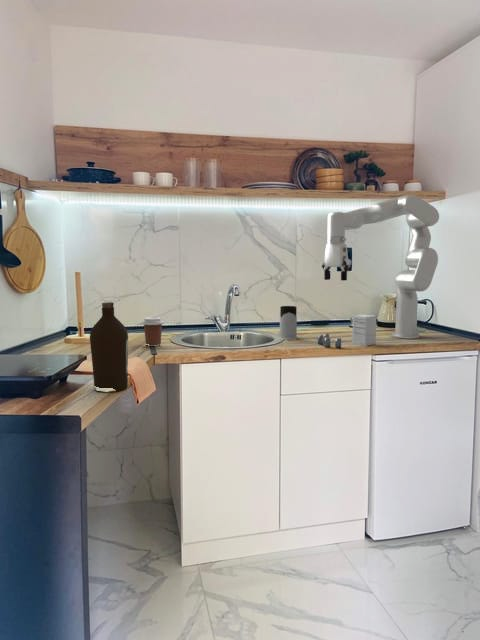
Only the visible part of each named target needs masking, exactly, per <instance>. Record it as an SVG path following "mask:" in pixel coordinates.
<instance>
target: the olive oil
mask: <svg viewBox="0 0 480 640" xmlns="http://www.w3.org/2000/svg"><path fill="white" fill-rule="evenodd" d="M101 306H102V307H101V314H102V315H101V317H100V318H99V319H98V321H97V322H96V323H95V324H94V325H93V326H92V328H91V329H90V330H91V331H90V333H89V344H90V352H91V362H92V373H93V374H92V375H93V387H94V386H96V387H99V388H113V389H115V390H116V392H115V393H117V392H121V391H122V392H123V391H124V390H126V389H127V388H128V387H129V386H128V385H129V377H128V376H129V375H128V373H129V372H128V371H129V367H128V365H129V333H128V329H127V327H126V326H125V325H124V324H123V323H122V322H121V321H120V320H119V319H118V318H117V317H116V316H115V307H114V306H115V305H114V302H112V301H111V302H110V301H109V302H108V301H107V302H102V303H101Z"/></svg>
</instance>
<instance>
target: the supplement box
mask: <svg viewBox="0 0 480 640" xmlns="http://www.w3.org/2000/svg"><path fill="white" fill-rule="evenodd" d="M376 337H377V315H373V314H366V313H365V314H364V313H363V314H355V315H352V340H351V342H352V345H359V346H363V347H365V346H366V347H367V346H372V345H376V344H377V343H376V342H377V338H376Z"/></svg>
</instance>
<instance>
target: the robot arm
mask: <svg viewBox="0 0 480 640" xmlns="http://www.w3.org/2000/svg"><path fill="white" fill-rule="evenodd" d="M401 216H406V217H405V220H406V225H407V226H408V228H409V229H410V232H411V239H410V243H409V246H408V249H407V251H406V255H405V259H404V263H405V265H406V266H407V267H408V268H410V269H406V270H405V269H403V270H402V271H399V272H398V273H397V274H396V276H395V277H394V278H395V279H394V283H395V284H394V285H395V290H396V291H395V292H396V294H395V295H396V303H395V304H396V305H395V306H396V307H395V328H394V329H395V330H394V332H392V333H391V337H393V338H397V339H405V340H406V339H409V340H411V339H412V340H413V339H419V338H420V337H421V336H420V334H421V333H426V331H427V330H426V328H420V327H418V325H417V323H418V305H419V304H418V303H419V298H418V294H417V292H421V293H422V292H425V291H427V290H428V288H429V287H430V286H431V284H432V281H433V278H434V275H435V273H436V272H435V271H436V269H437V266H438V264H439V256H438V253H437V251H436V249H434V248H432V247H430V244H431V241H432V236H431V232H430V229H429V227H432V226H435V225H436V224H437V223H438V222H439V219H440V213H439V211H438V210H437V208H436V207H435V206H433V205H432V204H430V203H429V202H428V201H426V200H425V199H422V198H421V197H419V196H417V195H415V194H405V195H401V196H396V197H394V198H389V199H386V200H384V201H380V202H376V203H373V204H370V205H367V206H364V207H361V208H357V209H353V210H351V211H347V212H342V211H333V212H329V213H328V214H327V236H326V239H327V243H326V246H325V251H324V258H323V259H321V260H320V265H321V268H322V269H323V271H324V277H323V279H324V280H325V281H329V280H331V268H336V267H337V268H340V269H341V271H340V281H342V282H343V281H347V280H348V271H349V270H350V268H351V265H352V263H353V262H352V259H350V258H349V256H348V255H349V254H348V247H347V246H348V245H347V244H346V243H345V242H346V241H347V237H345V236H346V235H345V234H346V231H348V230H357V229H359V228H361V227H362V226H364V225H369V224H377V223H381V222H384V221H385V222H386V221H387V220H391V219H395V218H398V217H401ZM411 268H412V269H411Z"/></svg>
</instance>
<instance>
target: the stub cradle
mask: <svg viewBox="0 0 480 640" xmlns="http://www.w3.org/2000/svg"><path fill="white" fill-rule="evenodd" d="M334 341H335V346H334V347H335V349H337V350H338V349H342V338H340V337H336V338H335V340H334ZM318 344H319V346H323V345H324V348H325V349H330V348H331V337H330V334H329V333H323V334H318V335H317V345H318Z"/></svg>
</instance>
